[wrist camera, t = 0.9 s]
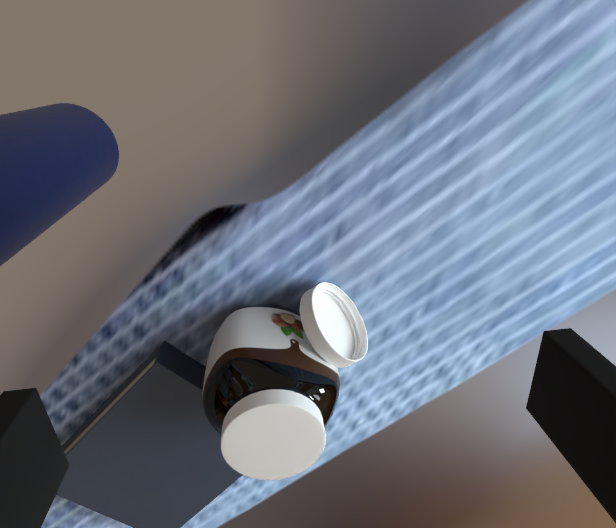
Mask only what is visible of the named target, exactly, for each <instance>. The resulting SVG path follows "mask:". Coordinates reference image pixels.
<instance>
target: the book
mask: <svg viewBox="0 0 616 528" xmlns="http://www.w3.org/2000/svg"><path fill="white" fill-rule="evenodd" d="M205 370H206V367H204V366H203V365H201V364H200V363H198V362H197V361H195V360H193V359H192V358H190V357H189V356H187V355H186V354H184V353H182V352H181V351H179V350H178V349H176V348H175V347H173V346H171V345H170V344H168V343H167V342H165V341H164V342H163V343H162V344H161V345H160V346H159V347H158V348H157V349H156V350H155V351H154V352H153V353H152V354H151V355H150V356H149V357H148V358H147V359H146V360H145V361H144V362H143V363H142V364H141V366H140V367H139V368H138V369H137V370H136V371H135V372H134V373H133V374H132V375H131V376H130V377H129V378H128V379H127V380H126V381H125V382H124V383H123V384H122V385H121V386H120V387H119V388H118V389H117V390H116V391H115V392H114V393H113V394H112V395H111V396H110V397H109V398H108V399H107V400H106V402H105V403H104V404H103V405H102V406H101V407H100V408H99V409H98V410H97V411H96V412H95V413H94V414H93V415H92V416H91V417H90V418H89V419H88V420H87V421H86V422H85V423H84V424H83V425H82V426H81V427H80V428H79V429H78V430H77V431H76V432H75V433H74V434H73V435H72V436H71V438H70V439H69V440H68V441H67V442H66V443H65V444H64V445H63V446H62V449H63V451H64V454H65V456H66V458H67V461H68V463H69V465H70V466H69V468H68V470H67V472H66V474H65V476H64V479H63V481H62V483H61V485H60V487H59V489H58V491H57V493H56V495H58V496H61V497H63V498H65V499H68V500H70V501H72V502H75V503H77V504H79V505H82V506H84V507H86V508H89V509H91V510H93V511H96V512H98V513H100V514H103V515H105V516H108V517H110V518H112V519H115V520H117V521H119V522H122V523H124V524H126V525H129V526H131V527H133V528H180V527H182V526H183V525H184V524H185V523H186V522H187V521H189V520H190V519H191V518H192V517H193V516H195V515H196V514H197V513H198V512H199V511H200V510H202V509H203V508H204V507H205V506H206V505H208V504H209V503H210V502H211V501H212V500H213V499H215V498H216V497H217V496H218V495H219V494H221V493H222V492H223V491H224V490H225V489H226V488H228V487H229V486H230V485H231V484H232V483H234V482H235V481H236V480H237V479H238V478H239V477H241V476H242V475H243V474H240V473H239V472H237V471H236V470H234V469H233V468H232V467H231V466H230V465H229V464H228V463H227V462H226V460H225V459H224V457H223V455H222V451H221V435H220V434H219V433H218V432H217V431H216V430H215V429H214V428H213V427H212V426H211V424H210V423H209V421H208V420H207V418H206V416H205V413H204V408H203V397H202V394H203V383H204V376H205Z"/></svg>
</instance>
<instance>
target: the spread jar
mask: <svg viewBox="0 0 616 528" xmlns="http://www.w3.org/2000/svg"><path fill="white" fill-rule="evenodd" d="M367 348H368V338H367V332H366V328H365V325H364V322H363V319H362V317H361V315H360V313H359V311H358V309H357V308H356V306H355V305H354V303H353V302H352V300H351V299H350V298H349V297H348V296H347V294H345V293H344V292H343V291H342V290H341V289H340V288H338V287H337V286H335V285H333V284H331V283H327V282H322V283H319V284H317V285H316V286H314V287H313V288H311V289H309V290H308V291H306V292H305V293H304V294H303V296H302V298H301V302H300V314H299V313H297V312H295V311H293V310H290V309H288V308H285V307H281V306H276V305H253V306H247V307H243V308H240V309H238V310H236V311H234V312H232V313H231V314H230V315H229V316H228V317H227V318H226V319H225V320H224V322H223V323H222V325H221V326H220V328H219V329H218V331H217V333H216V335H215V337H214V340H213V342H212V345H211V348H210V351H209V355H208V360H207V365H206V370H205V376H204V383H203V394H202V397H203V408H204V413H205V416H206V418H207V420H208V421H209V423H210V424H211V426H212V427H213V428H214V429H215V430H216V431H217V432H218V433H219V434H220V435H221V451H222V455H223V457H224V459H225V460H226V462H227V463H228V464H229V465H230V466H231V467H232V468H233V469H234V470H236V471H237V472H239V473H240V474H243V475H245V476H247V477H251V478H255V479H261V480H277V479H283V478H288V477H291V476H294V475H296V474H299V473H301V472H303V471H304V470H306V469H307V468H309V467H310V466H312V465H313V464H314V463H315V462H316V461H317V460H318V458H319V457H320V455H321V454H322V452H323V450H324V447H325V442H326V435H325V426H326V425H327V423H328V422H329V420H330V418H331V416H332V415H333V411H334V409H335V406H336V403H337V400H338V395H339V388H340V381H339V373H338V368H337V367H347V366H349V365H351V364H354V363H356V362H358V361H360V360H362V359H363V358H364V357H365V355H366V353H367Z"/></svg>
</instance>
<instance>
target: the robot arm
mask: <svg viewBox="0 0 616 528" xmlns="http://www.w3.org/2000/svg"><path fill="white" fill-rule="evenodd" d="M526 409H527V410H528V411H529V413H530V414H531V415H532V416H533V418H534V419H535V420H536V421H537V423H538V424H539V425H540V427H541V428H542V429H543V430H544V432H545V433H546V434H547V435H548V437H549V438H550V439H551V441H552V442H553V443H554V444H555V446H556V447H557V448H558V449H559V451H560V452H561V454H562V455H563V456H564V457H565V459H566V460H567V461H568V462H569V464H570V465H571V466H572V468H573V469H574V470H575V471H576V473H577V474H578V475H579V477H580V478H581V479H582V480H583V482H584V483H585V484H586V485H587V487H588V488H589V489H590V491H591V492H592V493H593V494H594V496H595V497H596V498H597V500H598V501H599V502H600V503H601V505H602V506H603V507H604V508H605V510H606V511H607V512H608V514H609V515H610V516H611V518H612V519H613V520H614V521H615V523H616V366H615V365H614V364H612V363H611V362H610V361H609V360H608V359H606V358H605V357H604V356H603V355H602V354H601V353H599V352H598V351H597V350H596V349H594V348H593V347H592V346H591V345H590V344H589V343H588V342H586V341H585V340H584V339H583V338H582V337H580V336H579V335H578V334H577V333H576V332H574V331H573V330H572V329H570V328H569V329H560V330H551V331H544V332H543V337H542V342H541V345H540V350H539V354H538V358H537V363H536V367H535V372H534V376H533V381H532V385H531V389H530V394H529V398H528V402H527V407H526ZM69 466H70V465H69V463H68V461H67V458H66V456H65V454H64V451H63V449H62V447H61V445H60V442H59V440H58V438H57V435H56V433H55V431H54V428H53V426H52V424H51V421H50V419H49V417H48V414H47V412H46V410H45V407H44V405H43V403H42V400H41V398H40V396H39V393H38V391H37V389H36V388H31V389H22V390H13V391H4V392H3V393H2V394H1V395H0V528H41V526H42V523H43V521H44V519H45V517H46V515H47V513H48V511H49V508H50V506H51V504H52V502H53V500H54V498H55V496H56V493H57V491H58V489H59V487H60V485H61V483H62V481H63V479H64V476H65V474H66V472H67V470H68V468H69Z"/></svg>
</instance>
